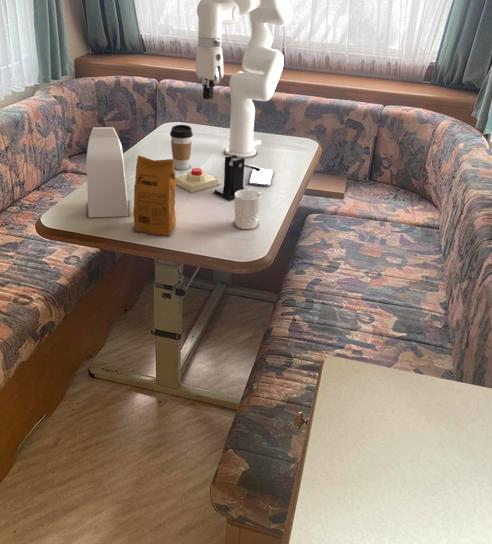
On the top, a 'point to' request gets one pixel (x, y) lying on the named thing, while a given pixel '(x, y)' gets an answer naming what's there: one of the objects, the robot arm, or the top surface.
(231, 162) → the switch lever
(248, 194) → the white cup
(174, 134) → the coffee cup
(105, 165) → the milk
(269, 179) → the mobile phone
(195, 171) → the button
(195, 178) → the control box
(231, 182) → the switch bracket
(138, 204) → the coffee package
